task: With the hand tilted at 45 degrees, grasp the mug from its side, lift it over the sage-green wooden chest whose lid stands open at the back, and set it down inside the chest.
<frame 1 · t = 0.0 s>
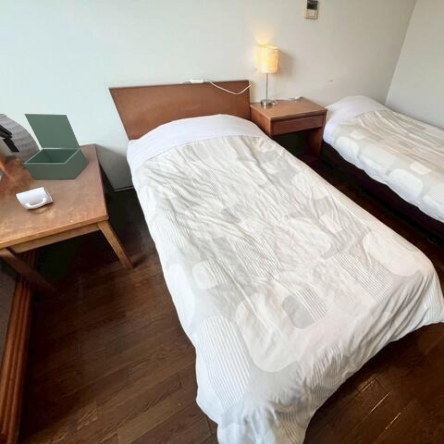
hand: (5, 159, 113), 21 cm above the table, tool pointing down, fingers open, 13 cm apart
mug: (41, 206, 122), on the table
lid: (56, 130, 141), point 19 cm above the table, hinge at 100.0°
vase: (34, 162, 149), on the table
chest: (63, 171, 145), on the table
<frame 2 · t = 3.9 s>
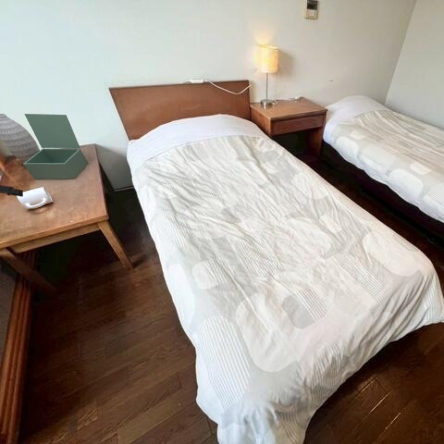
hand: (3, 193, 104), 15 cm above the table, tool tilted 45°, fingers open, 13 cm apart
nothing on the table moved.
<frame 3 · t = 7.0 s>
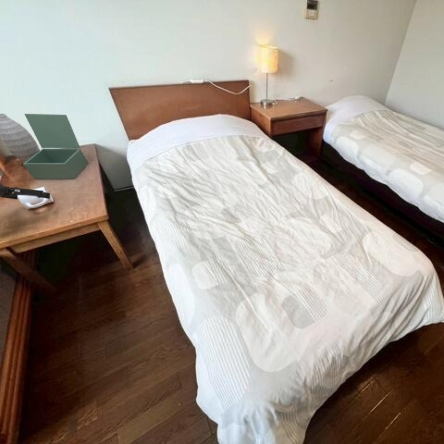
hand: (33, 196, 118), 6 cm above the table, tool tilted 45°, fingers open, 13 cm apart
mug: (41, 206, 122), on the table, touching gripper
everything else where it was.
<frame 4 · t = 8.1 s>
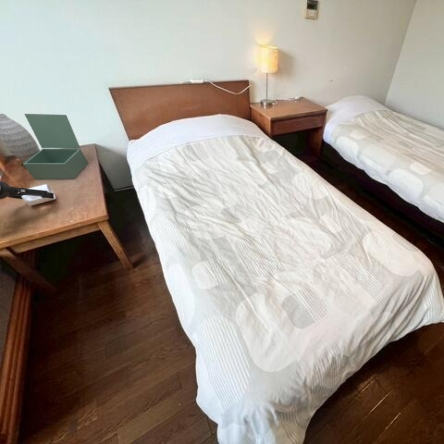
hand: (37, 196, 121), 4 cm above the table, tool tilted 45°, fingers closed on mug, 12 cm apart
mug: (43, 203, 122), point 1 cm above the table, touching gripper
everything else where it was.
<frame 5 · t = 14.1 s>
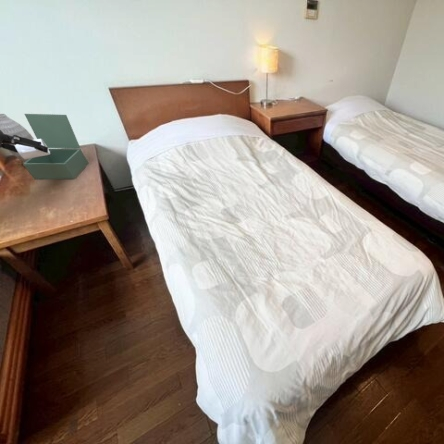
hand: (32, 149, 122), 20 cm above the table, tool tilted 45°, fingers closed on mug, 12 cm apart
mug: (37, 157, 123), point 17 cm above the table, touching gripper
everything else where it was.
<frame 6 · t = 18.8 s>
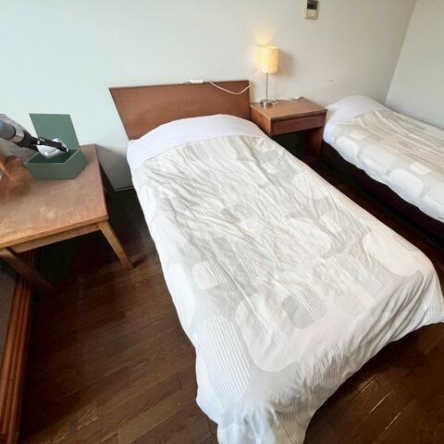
hand: (53, 150, 138), 12 cm above the table, tool tilted 45°, fingers closed on mug, 12 cm apart
mug: (59, 156, 140), point 9 cm above the table, touching chest, gripper
lid: (58, 131, 142), point 18 cm above the table, hinge at 109.3°
everything else where it was.
when the fingers open (9 cm above the table, at t = 20.2 s): mug drops 5 cm, resting on chest.
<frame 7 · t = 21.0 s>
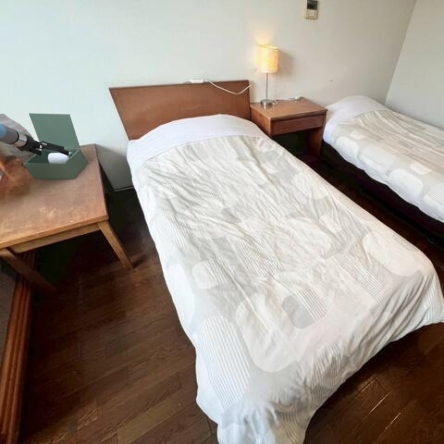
hand: (54, 153, 139), 10 cm above the table, tool tilted 45°, fingers open, 13 cm apart
mug: (67, 167, 146), point 1 cm above the table, touching chest
everything else where it was.
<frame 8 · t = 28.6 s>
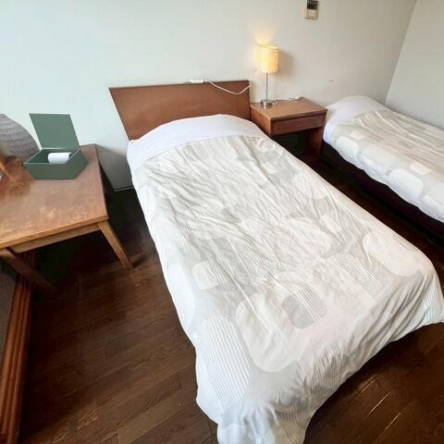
nothing on the table moved.
at the end: mug inside the target area in the chest (3.2 cm from its centre), point 0.9 cm above the chest's base; mug tilted 20°; the gripper is holding nothing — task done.
